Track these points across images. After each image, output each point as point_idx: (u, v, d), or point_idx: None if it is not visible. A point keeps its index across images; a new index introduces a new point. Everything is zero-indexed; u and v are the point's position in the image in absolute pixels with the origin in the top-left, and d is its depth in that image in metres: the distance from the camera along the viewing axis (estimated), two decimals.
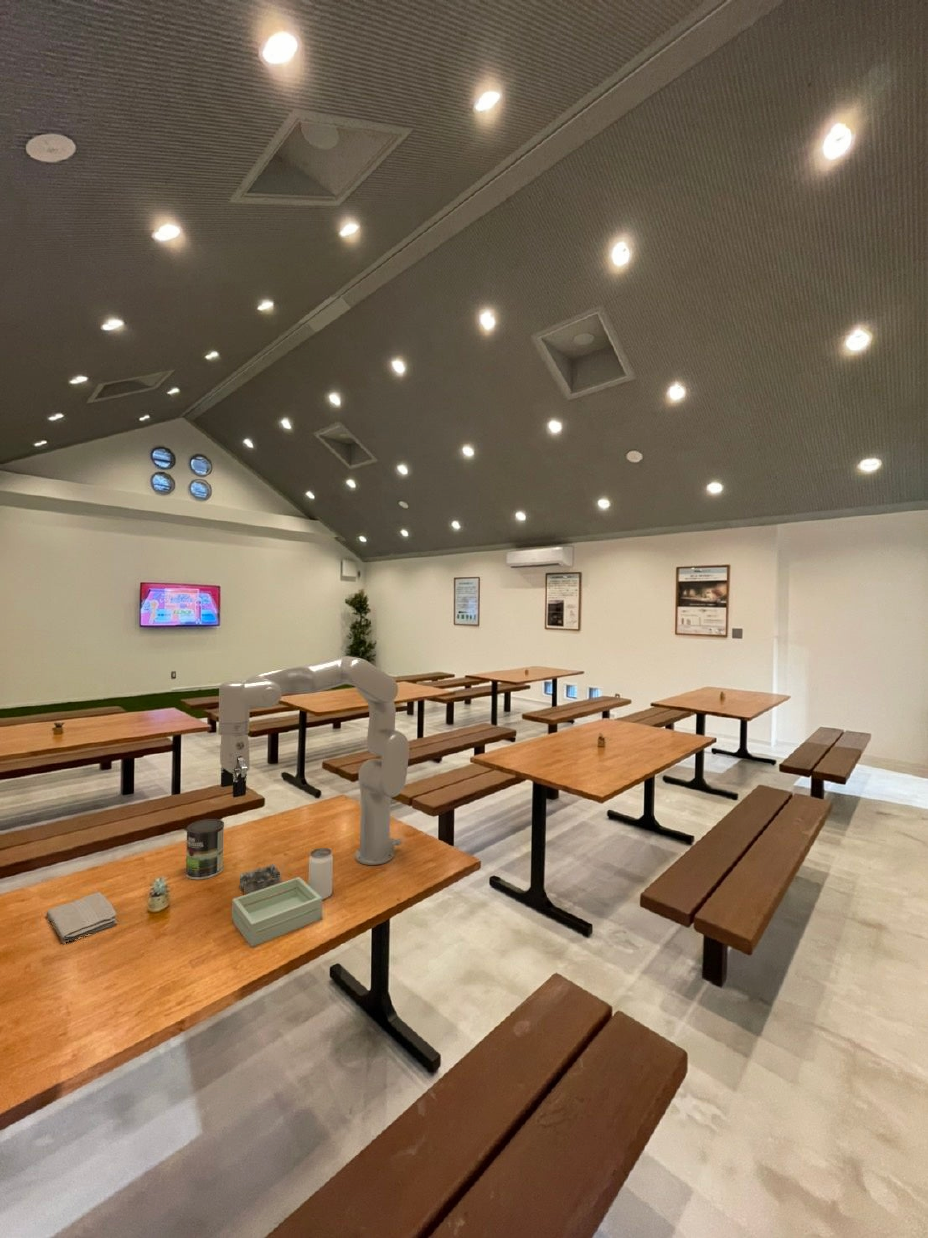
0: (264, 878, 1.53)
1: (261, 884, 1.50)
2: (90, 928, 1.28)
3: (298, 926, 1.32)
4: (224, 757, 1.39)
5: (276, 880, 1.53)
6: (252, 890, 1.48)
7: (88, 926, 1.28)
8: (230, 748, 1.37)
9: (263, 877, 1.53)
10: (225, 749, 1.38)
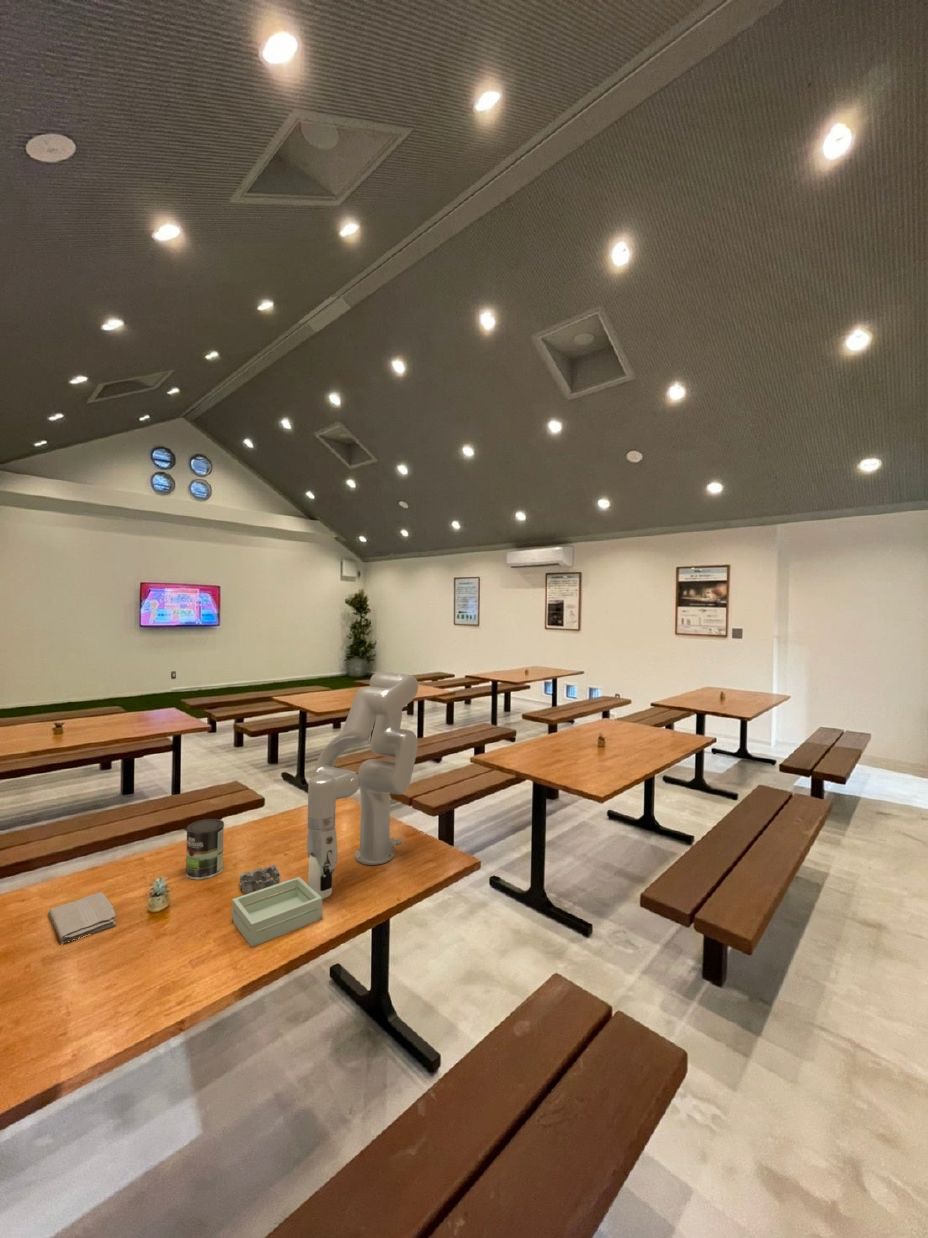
0: (263, 879, 1.52)
1: (259, 885, 1.50)
2: (89, 929, 1.28)
3: (298, 926, 1.32)
4: (313, 850, 1.46)
5: (275, 881, 1.52)
6: (250, 890, 1.48)
7: (86, 926, 1.28)
8: (320, 843, 1.43)
9: (263, 878, 1.52)
10: (314, 843, 1.45)
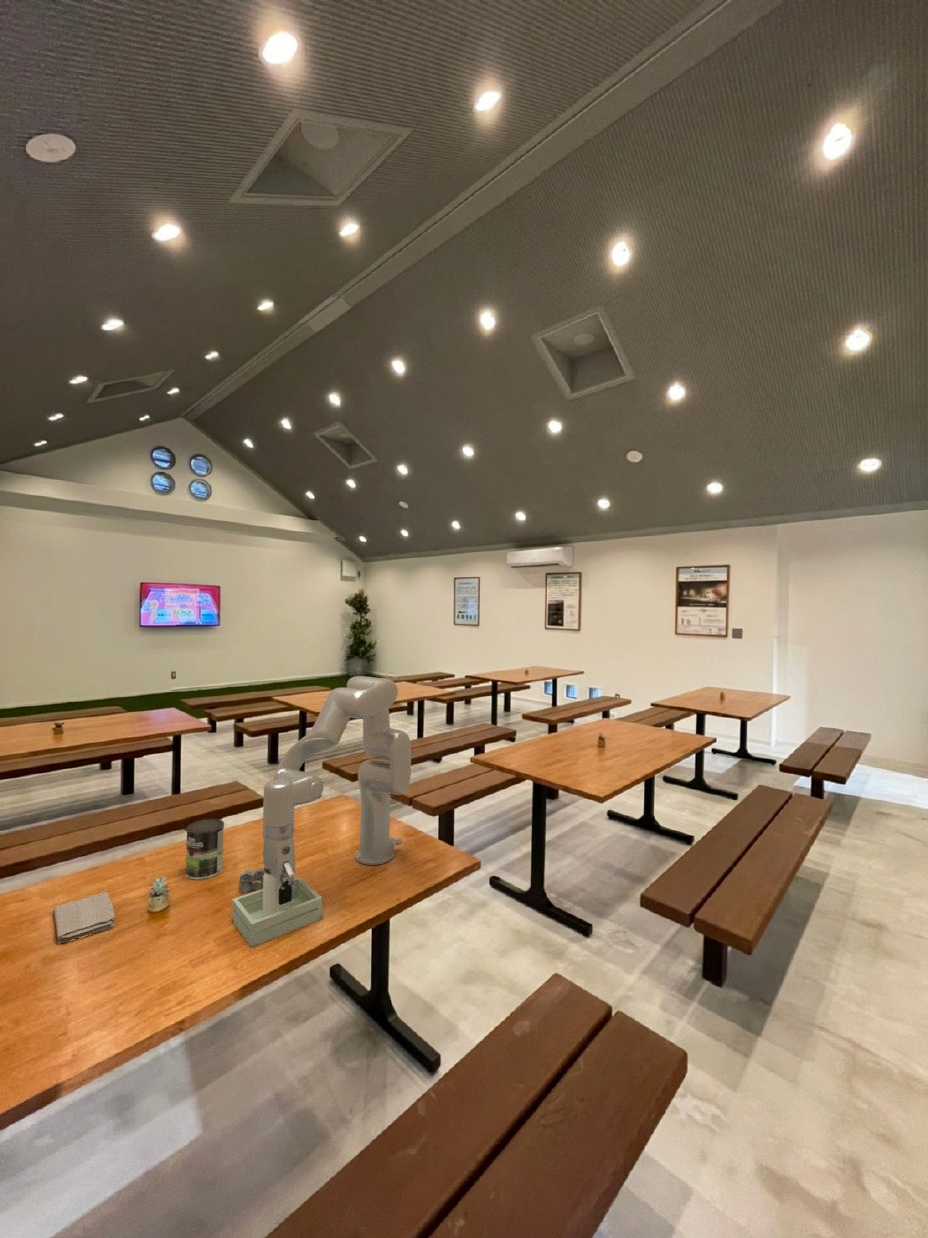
0: (262, 879, 1.52)
1: (257, 885, 1.49)
2: (86, 930, 1.27)
3: (298, 926, 1.32)
4: (269, 861, 1.34)
5: None
6: (246, 890, 1.48)
7: (84, 927, 1.28)
8: (276, 853, 1.31)
9: (261, 878, 1.52)
10: (270, 853, 1.33)
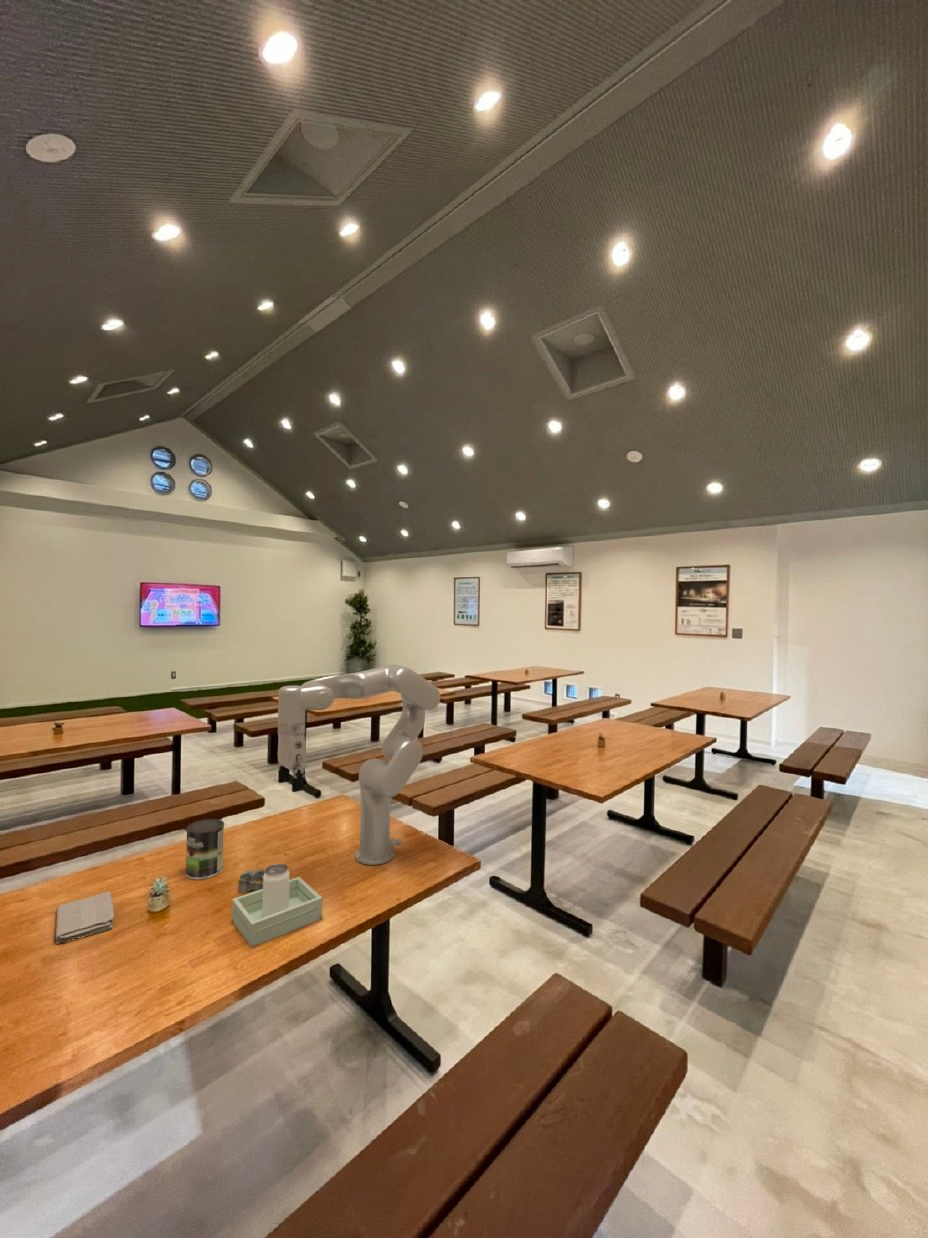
0: (261, 880, 1.52)
1: (255, 886, 1.49)
2: (84, 930, 1.27)
3: (298, 926, 1.32)
4: (283, 755, 1.52)
5: None
6: (244, 890, 1.48)
7: (82, 928, 1.27)
8: (289, 747, 1.49)
9: (260, 879, 1.52)
10: (284, 748, 1.51)
